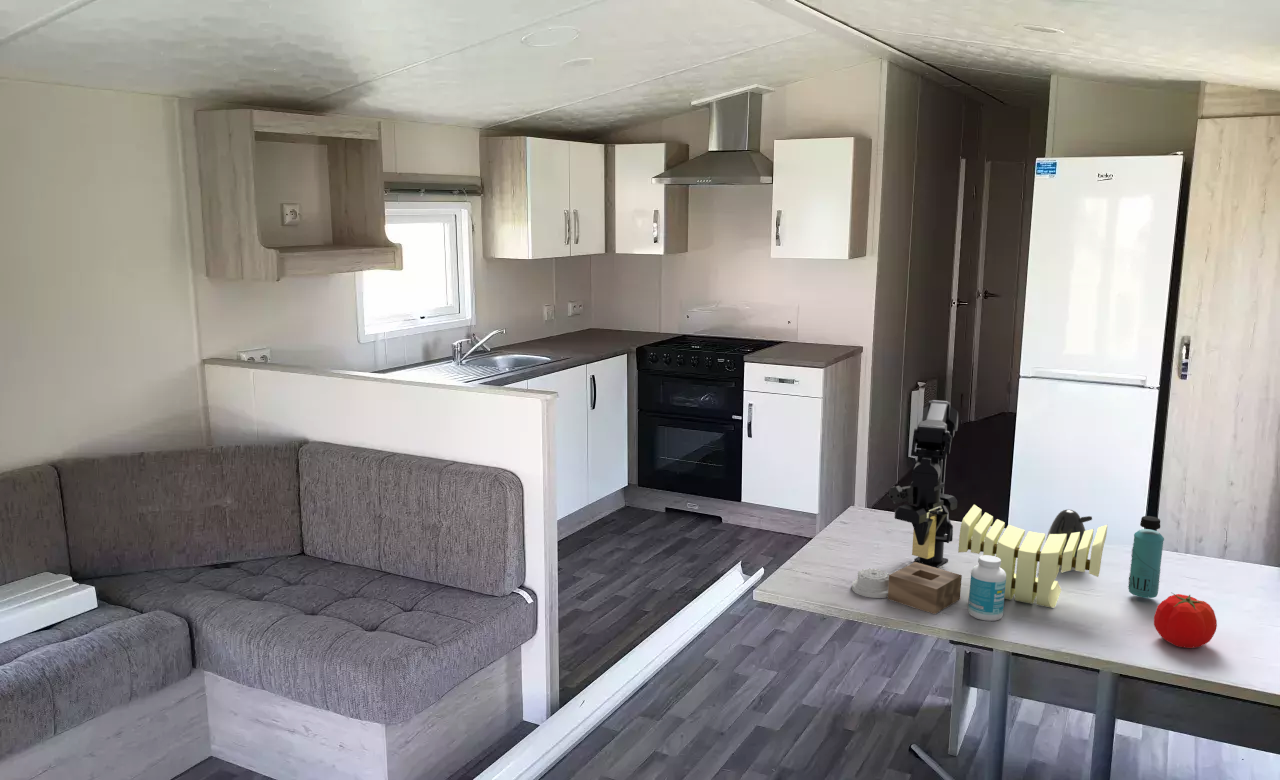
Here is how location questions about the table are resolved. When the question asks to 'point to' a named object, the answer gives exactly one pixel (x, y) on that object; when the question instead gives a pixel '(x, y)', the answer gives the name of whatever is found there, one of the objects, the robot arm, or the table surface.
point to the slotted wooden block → (924, 587)
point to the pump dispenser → (1068, 526)
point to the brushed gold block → (926, 541)
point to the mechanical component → (871, 583)
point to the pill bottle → (987, 589)
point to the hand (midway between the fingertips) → (924, 543)
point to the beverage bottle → (1146, 559)
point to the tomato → (1185, 621)
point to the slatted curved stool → (1031, 555)
